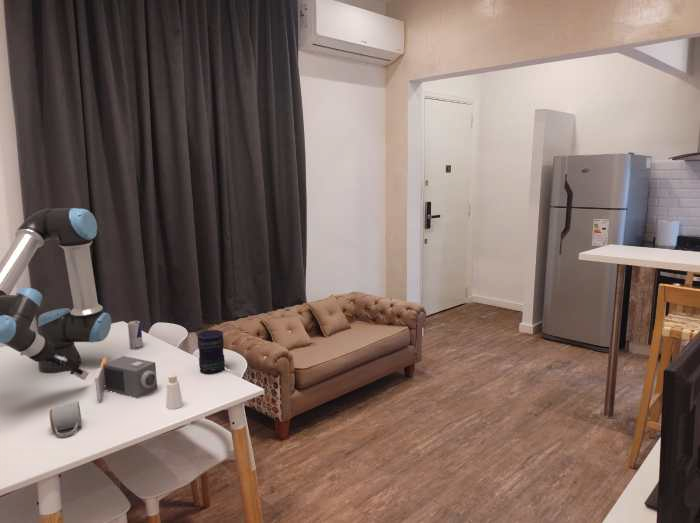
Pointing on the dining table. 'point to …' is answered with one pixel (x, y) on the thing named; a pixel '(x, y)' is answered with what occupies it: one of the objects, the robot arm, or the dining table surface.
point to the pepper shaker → (173, 393)
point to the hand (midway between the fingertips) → (85, 376)
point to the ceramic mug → (65, 418)
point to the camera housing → (130, 376)
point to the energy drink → (135, 335)
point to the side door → (100, 380)
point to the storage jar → (211, 352)
